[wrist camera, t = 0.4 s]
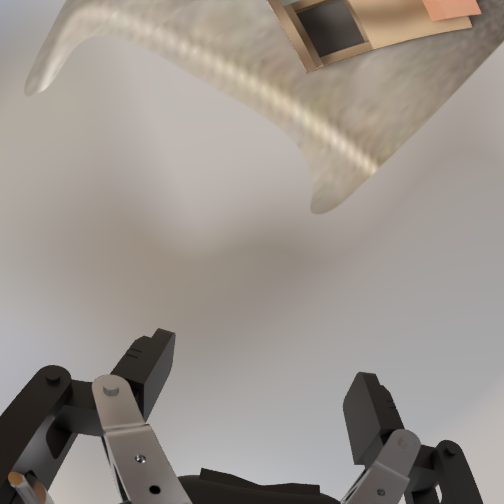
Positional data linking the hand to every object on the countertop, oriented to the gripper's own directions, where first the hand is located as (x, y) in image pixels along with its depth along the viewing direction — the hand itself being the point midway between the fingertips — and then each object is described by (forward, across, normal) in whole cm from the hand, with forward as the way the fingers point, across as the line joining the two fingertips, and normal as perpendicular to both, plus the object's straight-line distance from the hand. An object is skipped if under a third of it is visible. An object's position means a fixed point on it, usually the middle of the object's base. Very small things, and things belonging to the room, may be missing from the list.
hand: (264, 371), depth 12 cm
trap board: (+21, -3, -32) cm, 38 cm away
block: (+18, -12, -33) cm, 39 cm away
